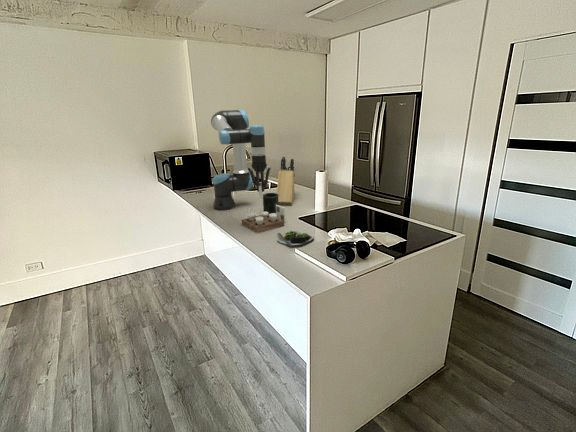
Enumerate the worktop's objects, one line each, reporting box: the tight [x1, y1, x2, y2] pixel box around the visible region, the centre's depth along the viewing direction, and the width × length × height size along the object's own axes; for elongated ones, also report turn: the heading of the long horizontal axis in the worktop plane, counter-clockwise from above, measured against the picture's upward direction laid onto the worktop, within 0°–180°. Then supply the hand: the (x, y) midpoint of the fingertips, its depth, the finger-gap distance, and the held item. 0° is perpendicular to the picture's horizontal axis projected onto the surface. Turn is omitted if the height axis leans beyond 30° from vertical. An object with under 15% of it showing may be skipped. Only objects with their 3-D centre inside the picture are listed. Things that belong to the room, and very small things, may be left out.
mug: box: [262, 192, 280, 214], centre depth 206 cm, size 11×15×12 cm
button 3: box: [260, 211, 268, 219], centre depth 188 cm, size 4×4×5 cm
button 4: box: [269, 213, 277, 222], centre depth 181 cm, size 4×4×5 cm
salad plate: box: [276, 230, 314, 248], centre depth 160 cm, size 19×18×5 cm
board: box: [241, 214, 285, 234], centre depth 183 cm, size 18×18×3 cm
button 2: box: [256, 215, 264, 226], centre depth 176 cm, size 4×4×5 cm
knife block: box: [276, 156, 296, 206], centre depth 231 cm, size 11×35×31 cm, turn 174°
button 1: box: [247, 212, 256, 222], centre depth 183 cm, size 4×4×5 cm
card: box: [276, 204, 287, 223], centre depth 190 cm, size 9×4×9 cm, turn 36°
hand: (261, 197), depth 177 cm, fingers closed
